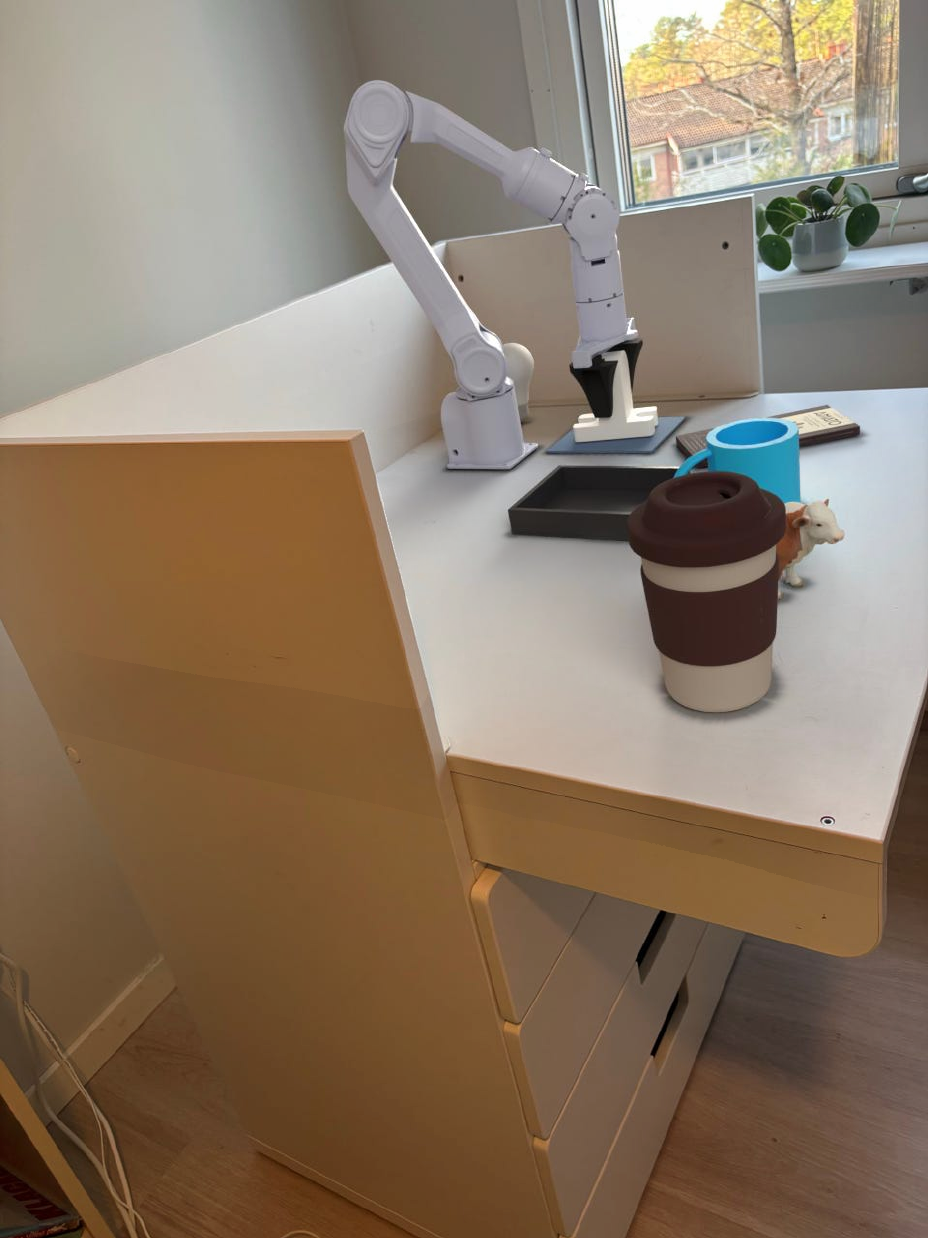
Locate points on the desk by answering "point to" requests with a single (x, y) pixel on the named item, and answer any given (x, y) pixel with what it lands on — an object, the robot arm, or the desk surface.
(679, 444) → the chocolate bar
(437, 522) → the desk surface
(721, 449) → the mug
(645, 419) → the cable organizer
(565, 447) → the cloth
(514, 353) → the lightbulb
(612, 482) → the tray
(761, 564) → the coffee cup
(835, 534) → the bull figurine
